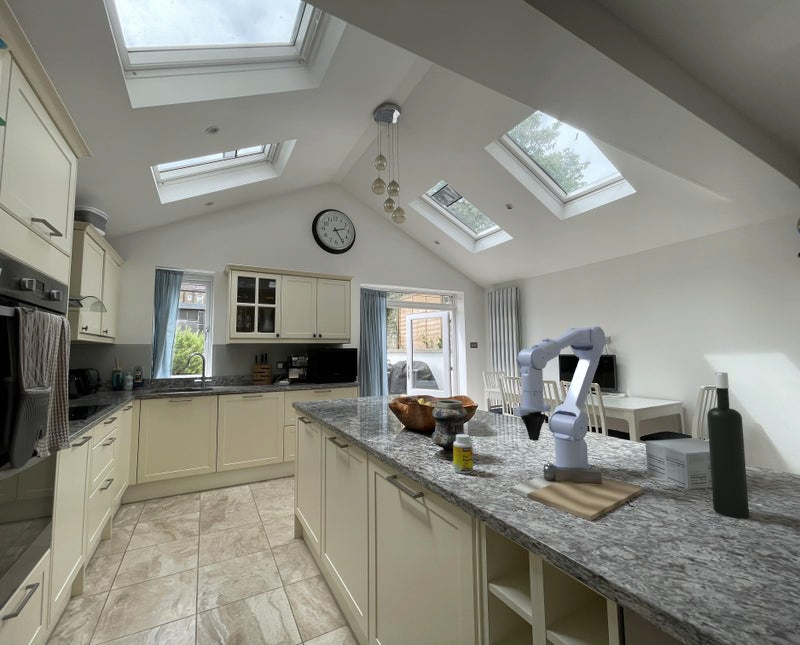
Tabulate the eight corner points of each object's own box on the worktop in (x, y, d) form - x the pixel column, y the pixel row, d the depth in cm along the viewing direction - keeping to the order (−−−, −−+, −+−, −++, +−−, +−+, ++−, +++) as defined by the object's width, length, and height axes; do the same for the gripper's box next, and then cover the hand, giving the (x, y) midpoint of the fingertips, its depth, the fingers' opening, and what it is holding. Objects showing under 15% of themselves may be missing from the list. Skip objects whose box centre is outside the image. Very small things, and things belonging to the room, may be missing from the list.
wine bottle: (752, 521, 76) (741, 373, 78) (716, 514, 79) (706, 372, 81) (745, 510, 81) (735, 372, 83) (711, 505, 84) (702, 371, 86)
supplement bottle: (462, 475, 104) (462, 438, 105) (449, 470, 109) (449, 434, 109) (477, 472, 107) (476, 436, 108) (463, 467, 112) (463, 432, 112)
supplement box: (695, 469, 109) (693, 437, 110) (744, 485, 96) (741, 448, 97) (645, 473, 106) (643, 439, 107) (688, 490, 93) (686, 452, 94)
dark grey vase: (471, 461, 118) (469, 403, 119) (433, 461, 118) (432, 403, 119) (464, 450, 130) (463, 398, 131) (430, 450, 130) (429, 398, 131)
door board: (566, 471, 107) (566, 458, 108) (643, 492, 91) (642, 477, 92) (510, 491, 92) (509, 476, 92) (590, 521, 76) (589, 502, 76)
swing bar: (545, 480, 96) (544, 465, 97) (543, 476, 99) (542, 461, 100) (602, 484, 93) (601, 468, 94) (598, 479, 96) (597, 465, 97)
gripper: (529, 394, 98) (530, 446, 97) (559, 390, 106) (561, 438, 105) (507, 391, 103) (508, 441, 102) (537, 388, 112) (539, 434, 111)
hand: (533, 439), depth 104 cm, fingers closed
